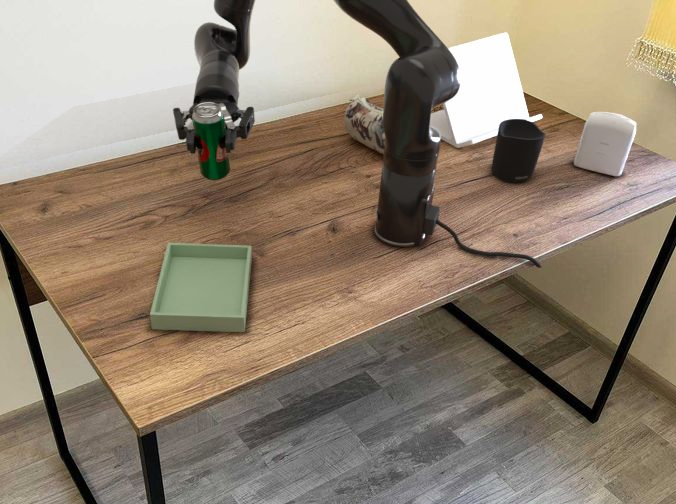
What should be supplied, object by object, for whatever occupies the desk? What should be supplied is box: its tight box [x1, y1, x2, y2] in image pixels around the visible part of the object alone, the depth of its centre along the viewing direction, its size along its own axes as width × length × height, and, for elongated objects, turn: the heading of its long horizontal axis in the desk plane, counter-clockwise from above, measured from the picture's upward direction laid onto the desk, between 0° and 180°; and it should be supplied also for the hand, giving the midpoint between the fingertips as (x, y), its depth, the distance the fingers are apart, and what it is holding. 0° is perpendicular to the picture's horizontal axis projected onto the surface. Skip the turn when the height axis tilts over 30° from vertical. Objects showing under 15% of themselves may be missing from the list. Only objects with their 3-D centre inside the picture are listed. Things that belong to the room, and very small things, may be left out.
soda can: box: [191, 102, 231, 181], centre depth 121 cm, size 5×5×12 cm
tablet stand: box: [430, 32, 543, 149], centre depth 167 cm, size 18×25×17 cm
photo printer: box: [573, 111, 637, 177], centre depth 156 cm, size 10×4×12 cm, turn 63°
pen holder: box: [491, 119, 547, 184], centre depth 153 cm, size 9×9×10 cm
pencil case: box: [343, 94, 385, 156], centre depth 157 cm, size 22×8×10 cm, turn 43°
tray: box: [149, 242, 253, 333], centre depth 120 cm, size 19×14×3 cm
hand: (210, 148), depth 119 cm, fingers closed on soda can, 5 cm apart
